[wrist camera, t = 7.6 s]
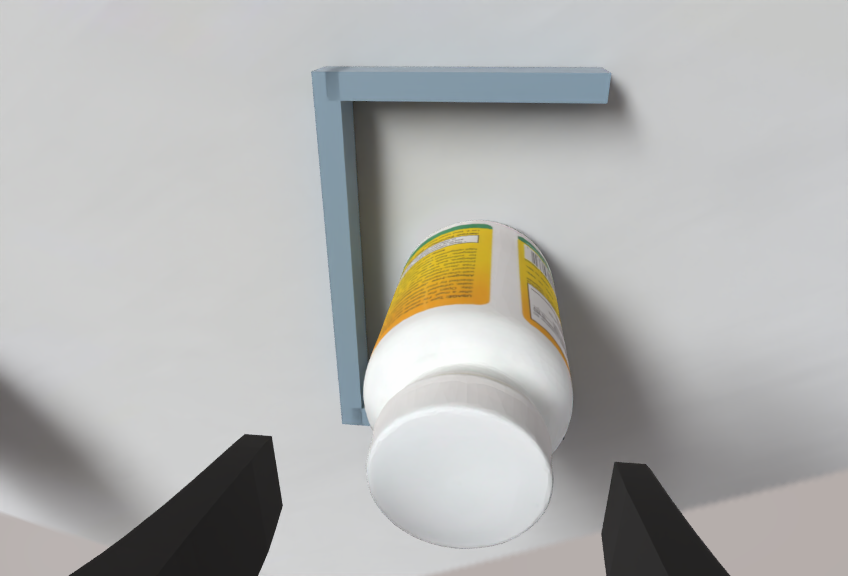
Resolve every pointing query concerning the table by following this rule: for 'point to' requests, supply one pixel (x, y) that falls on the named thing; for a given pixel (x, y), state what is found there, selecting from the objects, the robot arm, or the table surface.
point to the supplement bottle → (468, 389)
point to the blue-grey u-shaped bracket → (340, 172)
